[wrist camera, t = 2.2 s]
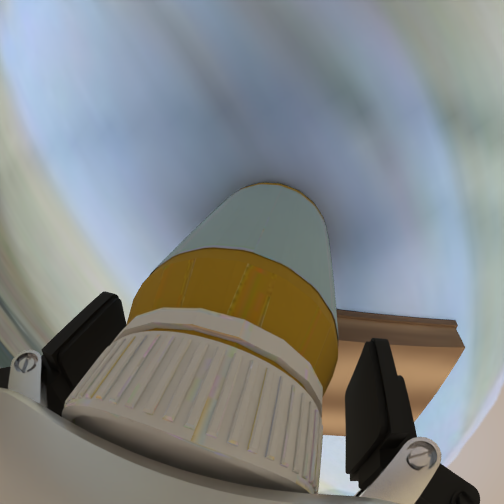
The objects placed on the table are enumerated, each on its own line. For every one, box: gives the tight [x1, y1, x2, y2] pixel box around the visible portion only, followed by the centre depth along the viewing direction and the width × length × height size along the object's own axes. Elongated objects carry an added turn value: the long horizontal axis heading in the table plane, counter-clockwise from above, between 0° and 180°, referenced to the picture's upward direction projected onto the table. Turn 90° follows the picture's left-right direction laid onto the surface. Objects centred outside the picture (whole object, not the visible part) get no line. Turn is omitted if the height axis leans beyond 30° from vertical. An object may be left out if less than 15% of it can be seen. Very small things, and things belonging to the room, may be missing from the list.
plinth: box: [322, 310, 465, 436], centre depth 20 cm, size 12×12×3 cm
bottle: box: [62, 183, 339, 494], centre depth 11 cm, size 7×7×15 cm
